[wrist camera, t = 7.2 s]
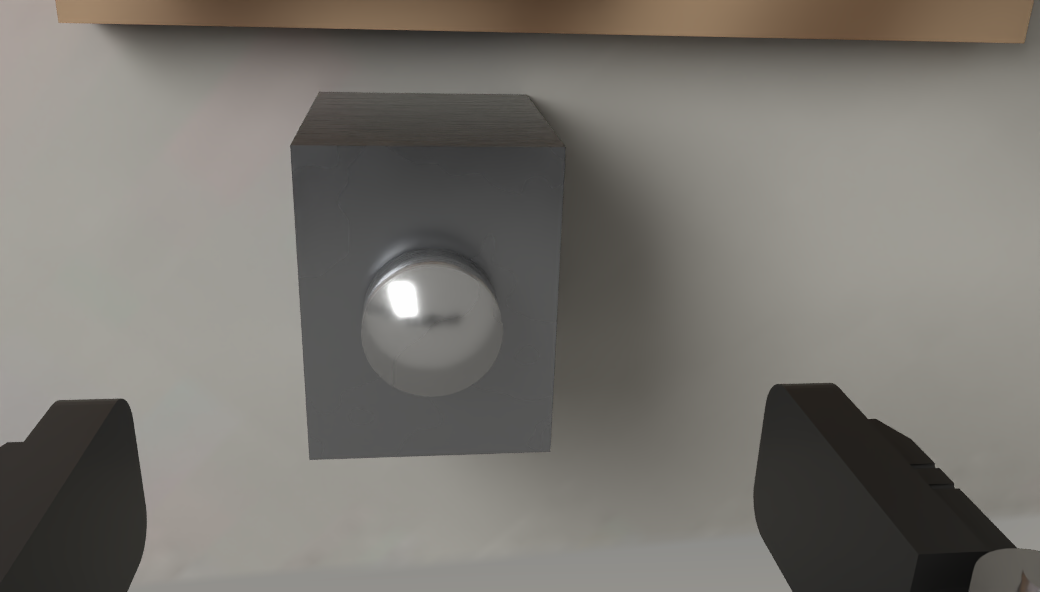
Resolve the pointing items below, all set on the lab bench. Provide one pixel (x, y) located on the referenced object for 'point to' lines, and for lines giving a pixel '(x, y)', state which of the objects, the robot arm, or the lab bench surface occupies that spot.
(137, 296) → the lab bench surface
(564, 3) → the wooden base board
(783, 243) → the lab bench surface
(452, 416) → the grey box with knob
